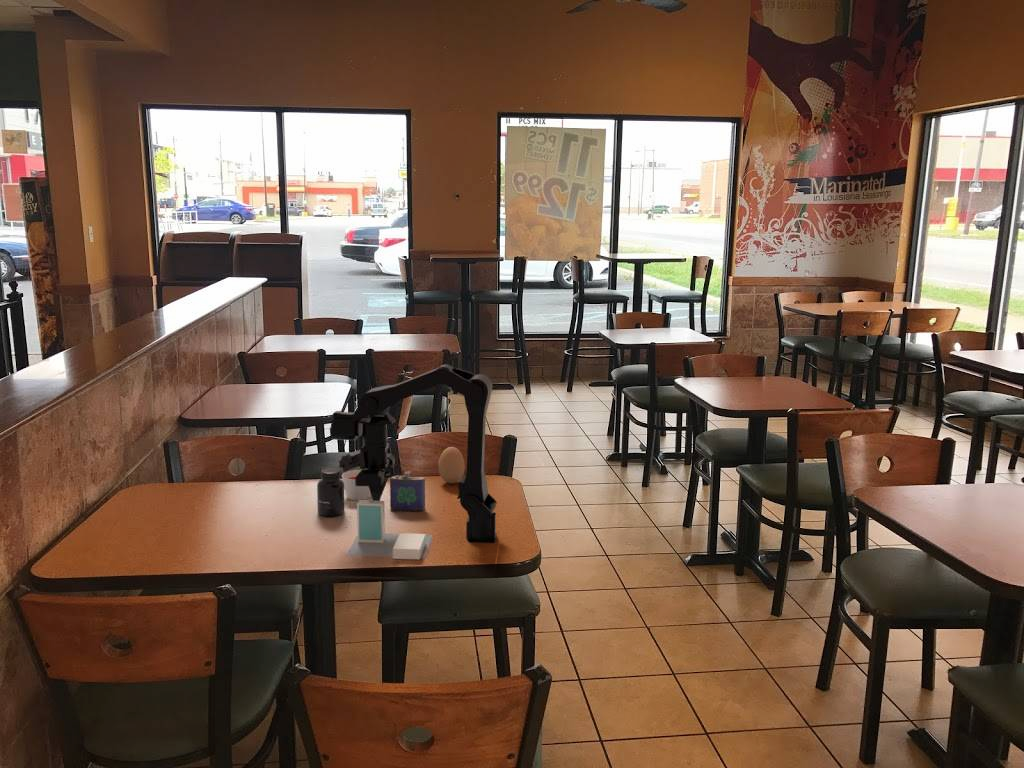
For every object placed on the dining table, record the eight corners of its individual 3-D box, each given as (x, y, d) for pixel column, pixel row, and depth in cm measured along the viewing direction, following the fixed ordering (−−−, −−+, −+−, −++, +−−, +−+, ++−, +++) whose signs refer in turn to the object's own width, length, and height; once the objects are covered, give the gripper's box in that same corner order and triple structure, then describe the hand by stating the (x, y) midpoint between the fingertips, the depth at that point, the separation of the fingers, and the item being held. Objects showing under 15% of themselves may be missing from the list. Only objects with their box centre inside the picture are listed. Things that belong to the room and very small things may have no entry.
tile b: (385, 538, 206) (384, 500, 204) (383, 542, 204) (382, 504, 202) (360, 538, 206) (359, 500, 204) (357, 542, 204) (356, 503, 202)
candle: (338, 494, 240) (338, 472, 239) (370, 490, 244) (370, 468, 242) (347, 503, 232) (346, 481, 231) (379, 499, 236) (379, 477, 234)
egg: (454, 477, 256) (454, 442, 254) (469, 484, 250) (470, 447, 248) (433, 482, 251) (433, 446, 249) (448, 489, 245) (448, 452, 243)
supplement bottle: (318, 520, 219) (317, 475, 217) (317, 511, 226) (315, 467, 223) (345, 518, 221) (344, 473, 219) (343, 509, 227) (342, 465, 225)
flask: (426, 509, 229) (425, 470, 227) (424, 512, 226) (423, 473, 224) (391, 508, 229) (390, 469, 227) (389, 512, 226) (388, 472, 224)
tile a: (425, 533, 203) (419, 549, 194) (425, 544, 203) (419, 559, 194) (399, 533, 203) (392, 548, 194) (400, 543, 204) (393, 559, 194)
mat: (432, 537, 209) (432, 535, 209) (424, 559, 195) (424, 557, 195) (358, 535, 210) (358, 533, 210) (345, 557, 196) (345, 555, 196)
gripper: (350, 430, 216) (351, 490, 219) (332, 450, 198) (334, 515, 201) (394, 431, 216) (395, 491, 219) (380, 452, 198) (381, 517, 201)
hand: (376, 503), depth 210 cm, fingers closed
